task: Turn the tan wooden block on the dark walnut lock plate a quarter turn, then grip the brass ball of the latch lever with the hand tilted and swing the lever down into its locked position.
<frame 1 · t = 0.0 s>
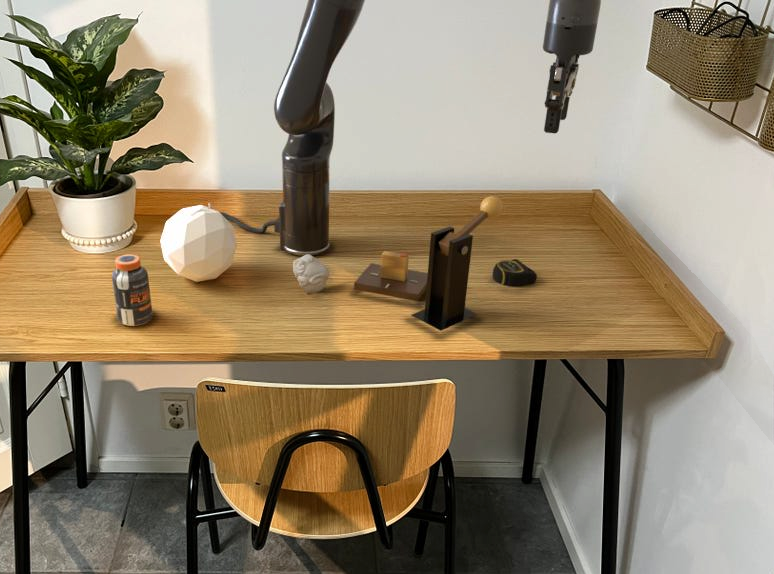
hand: (555, 125, 127), 29 cm above the table, tool pointing down, fingers open, 8 cm apart
tape measure: (512, 284, 143), on the table
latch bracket: (443, 320, 131), on the table
latch lever: (472, 225, 125), point 16 cm above the table, hinge at 24.0°
lock plate: (393, 290, 141), on the table
pill bottle: (135, 319, 133), on the table
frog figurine: (311, 293, 141), on the table
tan wooden block: (394, 265, 139), point 5 cm above the table, hinge at 0.0°
geodesic sphere: (201, 277, 147), on the table
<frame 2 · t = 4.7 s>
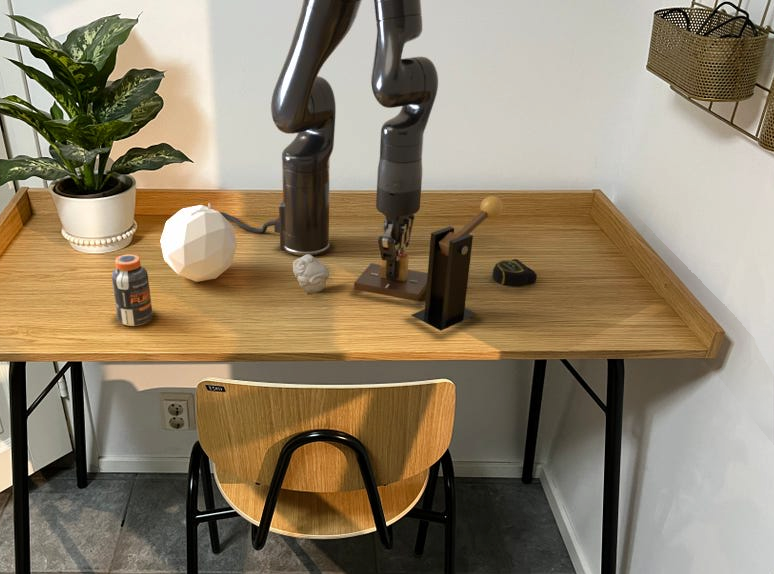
hand: (394, 275, 140), 3 cm above the table, tool pointing down, fingers closed on tan wooden block
tan wooden block: (394, 265, 139), point 5 cm above the table, hinge at 0.0°, touching gripper
everything else where it was.
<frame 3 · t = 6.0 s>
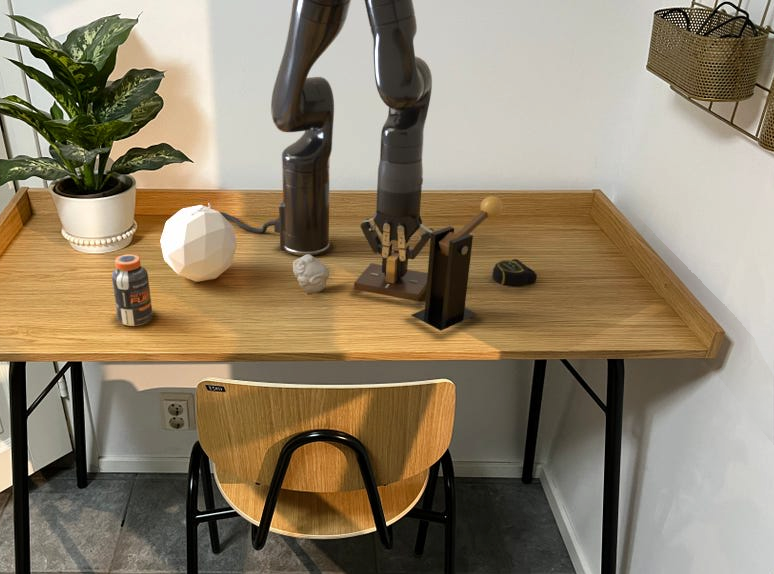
hand: (394, 275, 140), 3 cm above the table, tool pointing down, fingers closed, pressing on tan wooden block
tan wooden block: (394, 265, 139), point 5 cm above the table, hinge at 89.7°, touching gripper
everything else where it was.
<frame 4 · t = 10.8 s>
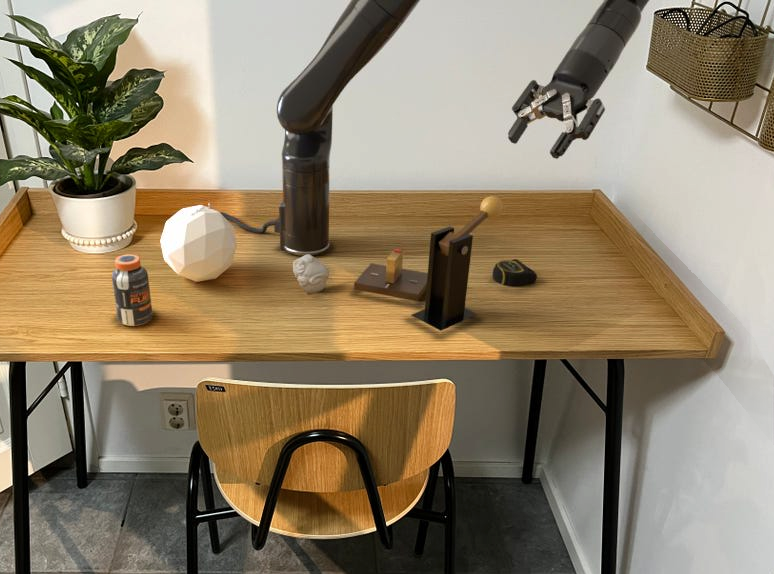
hand: (531, 148, 126), 26 cm above the table, tool tilted 40°, fingers open, 8 cm apart
tan wooden block: (394, 265, 139), point 5 cm above the table, hinge at 89.5°
everything else where it was.
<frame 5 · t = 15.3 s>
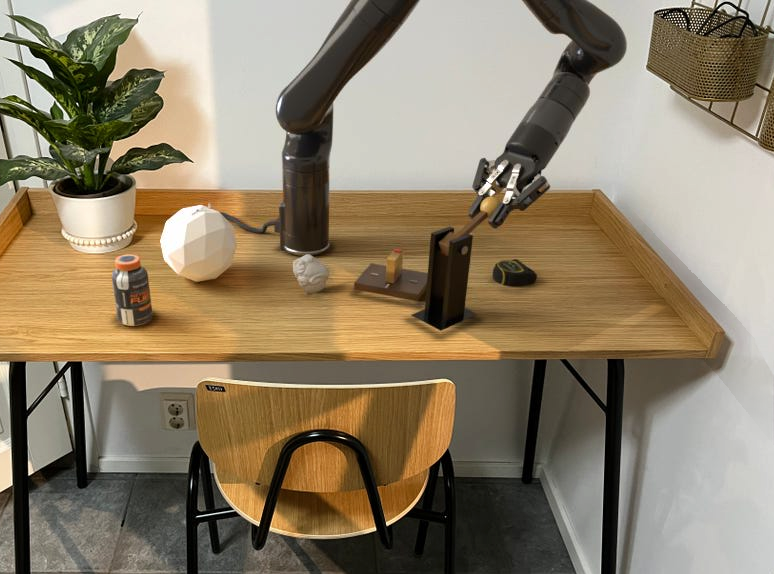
hand: (482, 221, 126), 16 cm above the table, tool tilted 45°, fingers closed on latch lever, 3 cm apart
latch lever: (472, 225, 125), point 16 cm above the table, hinge at 24.0°, touching gripper
everything else where it was.
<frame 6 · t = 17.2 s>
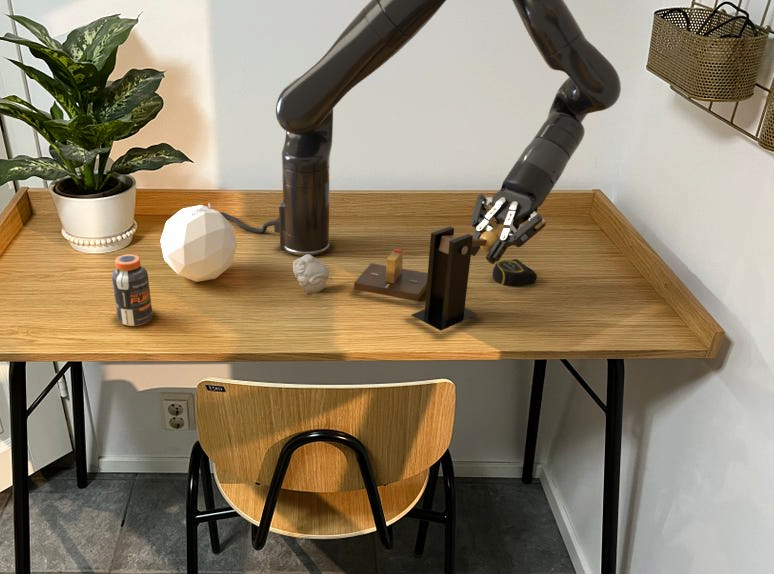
hand: (480, 257, 130), 10 cm above the table, tool tilted 45°, fingers closed on latch lever, 3 cm apart
latch lever: (471, 242, 127), point 13 cm above the table, hinge at -12.1°, touching gripper
everything else where it was.
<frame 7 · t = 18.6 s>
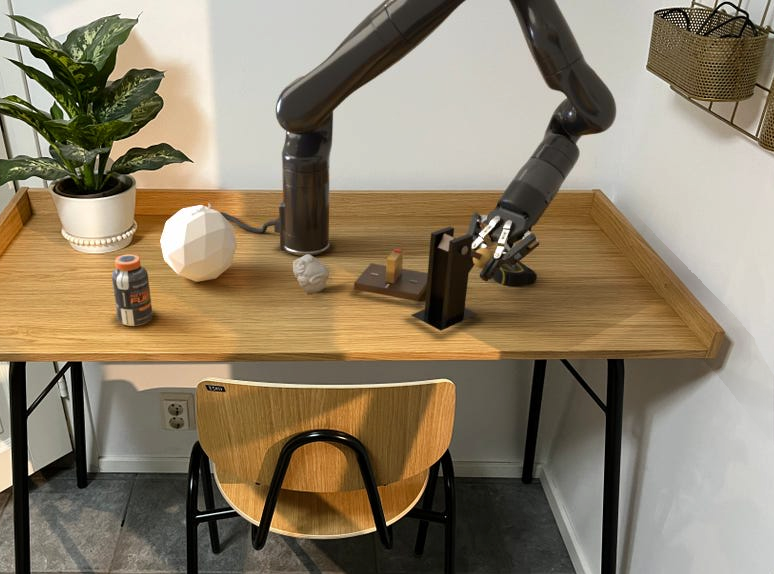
hand: (473, 274, 131), 7 cm above the table, tool tilted 45°, fingers closed on latch lever, 3 cm apart
latch lever: (468, 251, 128), point 11 cm above the table, hinge at -29.5°, touching gripper
everything else where it was.
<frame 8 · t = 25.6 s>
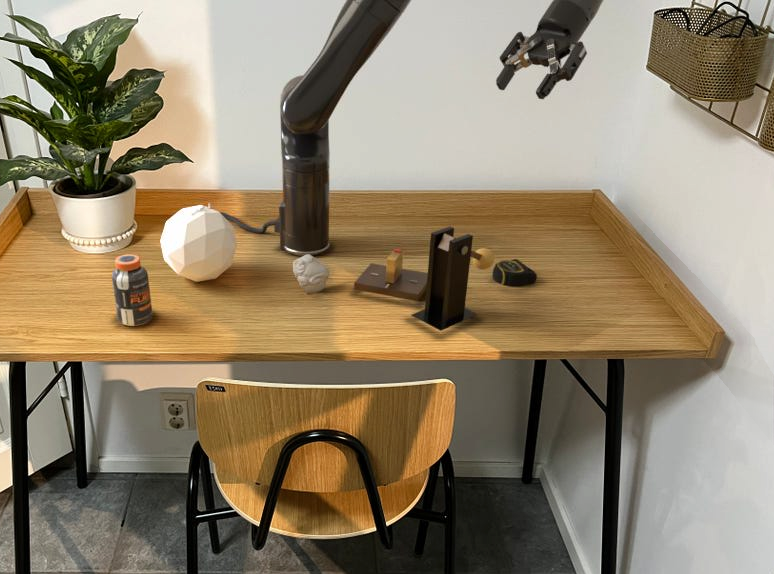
hand: (518, 91, 133), 33 cm above the table, tool tilted 45°, fingers open, 8 cm apart
latch lever: (468, 252, 128), point 11 cm above the table, hinge at -30.0°
everything else where it was.
at the end: tan wooden block at +90° (first picture: +0°); latch lever at -30° (first picture: +24°) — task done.
